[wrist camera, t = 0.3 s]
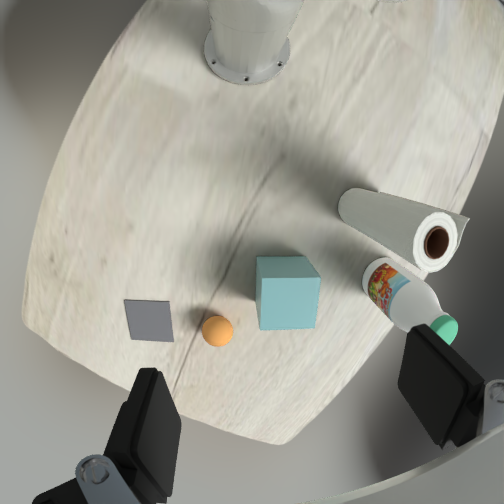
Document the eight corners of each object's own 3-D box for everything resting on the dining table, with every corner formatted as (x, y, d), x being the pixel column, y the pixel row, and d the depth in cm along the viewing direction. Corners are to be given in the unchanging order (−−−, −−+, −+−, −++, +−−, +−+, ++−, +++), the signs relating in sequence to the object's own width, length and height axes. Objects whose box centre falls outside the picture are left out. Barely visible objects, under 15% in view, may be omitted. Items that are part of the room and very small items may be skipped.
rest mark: (124, 299, 46) (124, 300, 46) (169, 301, 47) (168, 302, 46) (132, 338, 48) (131, 339, 48) (173, 341, 49) (173, 342, 49)
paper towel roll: (334, 223, 44) (407, 272, 24) (340, 184, 43) (421, 207, 22) (374, 228, 45) (457, 275, 25) (380, 191, 43) (471, 218, 23)
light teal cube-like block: (256, 256, 45) (262, 278, 37) (305, 256, 46) (321, 277, 37) (255, 301, 47) (260, 330, 39) (301, 300, 48) (314, 328, 40)
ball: (202, 310, 47) (199, 325, 43) (232, 310, 48) (232, 326, 43) (204, 335, 49) (201, 352, 44) (233, 335, 49) (233, 352, 44)
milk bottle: (391, 248, 46) (465, 296, 27) (402, 283, 49) (468, 339, 30) (354, 270, 47) (417, 332, 28) (368, 304, 49) (425, 372, 30)
